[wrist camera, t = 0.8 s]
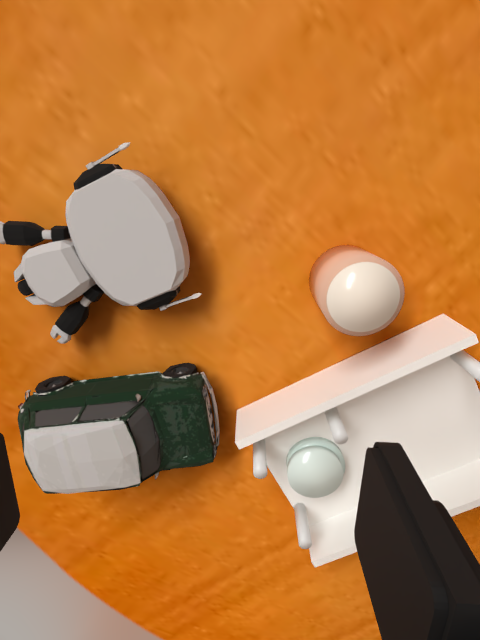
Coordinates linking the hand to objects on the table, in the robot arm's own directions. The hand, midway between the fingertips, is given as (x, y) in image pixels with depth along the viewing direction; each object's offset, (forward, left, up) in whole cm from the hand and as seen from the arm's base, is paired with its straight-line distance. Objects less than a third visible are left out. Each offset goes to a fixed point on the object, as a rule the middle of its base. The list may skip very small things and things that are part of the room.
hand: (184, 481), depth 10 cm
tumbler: (-9, +5, -25) cm, 27 cm away
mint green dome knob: (+2, +20, -24) cm, 31 cm away
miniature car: (+15, +7, -26) cm, 31 cm away
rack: (-5, +20, -25) cm, 33 cm away
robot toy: (+8, -7, -26) cm, 28 cm away
